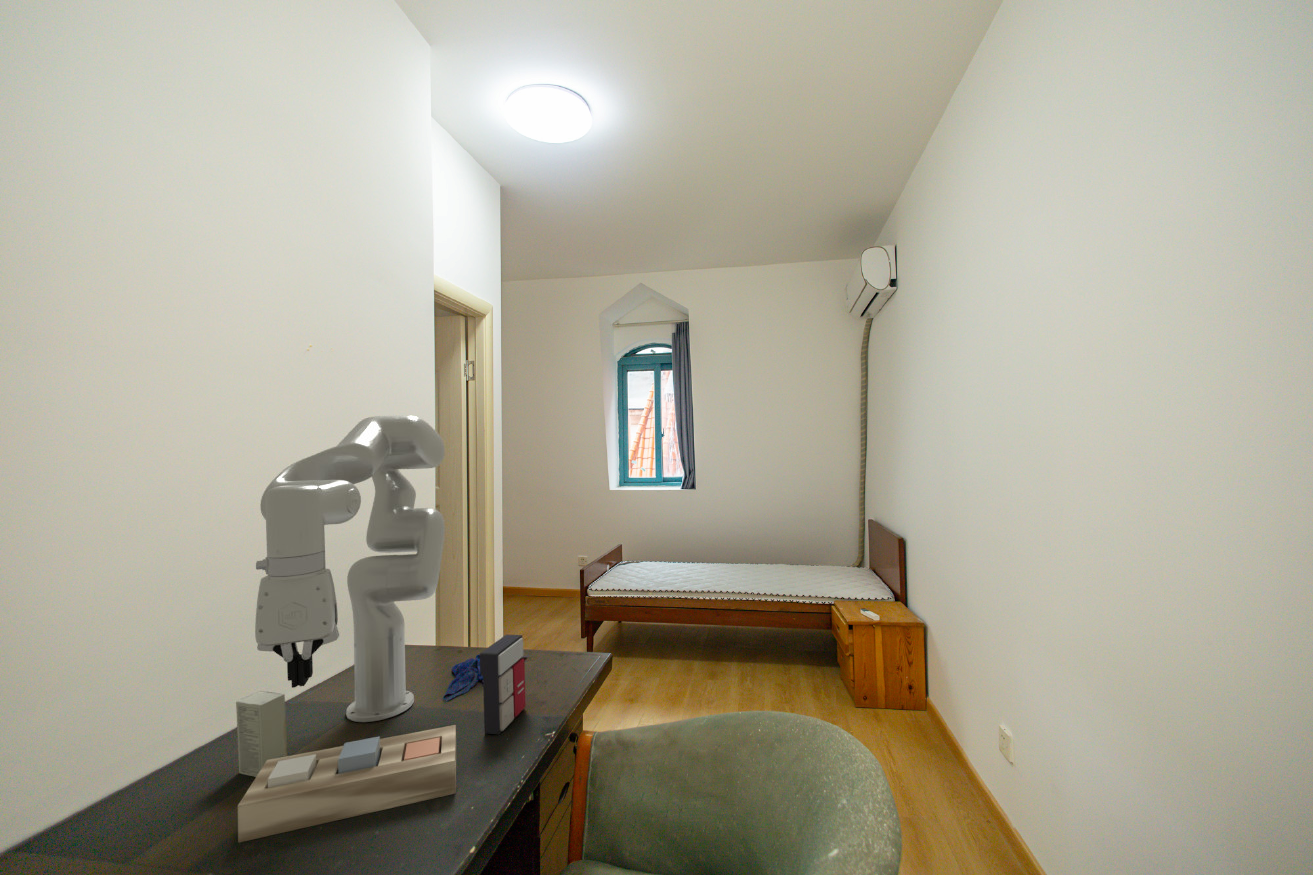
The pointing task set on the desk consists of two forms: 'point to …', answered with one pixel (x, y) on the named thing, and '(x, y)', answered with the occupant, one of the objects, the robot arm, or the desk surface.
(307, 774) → the offwhite key
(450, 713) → the desk surface
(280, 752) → the skincare box
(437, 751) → the terracotta key
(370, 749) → the slate key
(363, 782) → the key console
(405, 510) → the robot arm
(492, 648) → the calculator
